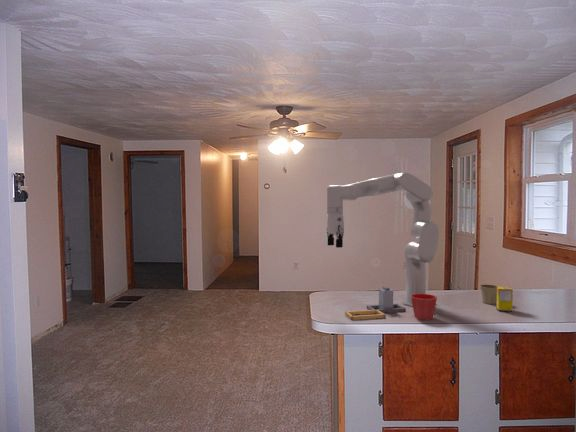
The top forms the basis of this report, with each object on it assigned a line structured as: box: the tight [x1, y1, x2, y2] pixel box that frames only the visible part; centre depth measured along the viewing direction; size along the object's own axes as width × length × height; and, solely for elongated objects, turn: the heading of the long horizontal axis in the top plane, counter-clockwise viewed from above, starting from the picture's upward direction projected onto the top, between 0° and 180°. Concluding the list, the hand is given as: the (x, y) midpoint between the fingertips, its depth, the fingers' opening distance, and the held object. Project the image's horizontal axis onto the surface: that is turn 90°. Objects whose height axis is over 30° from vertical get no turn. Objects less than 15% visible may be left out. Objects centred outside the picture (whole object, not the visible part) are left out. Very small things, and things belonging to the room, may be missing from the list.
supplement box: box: [496, 285, 514, 313], centre depth 189 cm, size 6×6×11 cm
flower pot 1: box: [411, 293, 438, 321], centre depth 178 cm, size 11×11×10 cm
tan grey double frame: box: [344, 303, 407, 321], centre depth 185 cm, size 30×16×2 cm, turn 102°
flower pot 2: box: [478, 283, 498, 305], centre depth 204 cm, size 9×9×9 cm
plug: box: [378, 286, 394, 309], centre depth 190 cm, size 5×5×11 cm
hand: (334, 246), depth 192 cm, fingers open, 9 cm apart
